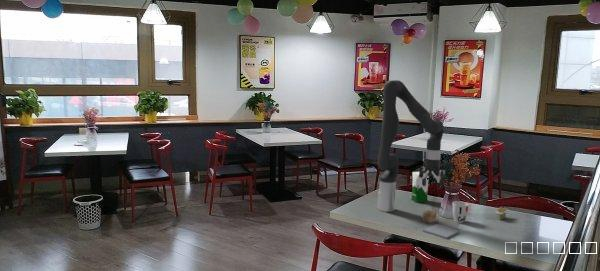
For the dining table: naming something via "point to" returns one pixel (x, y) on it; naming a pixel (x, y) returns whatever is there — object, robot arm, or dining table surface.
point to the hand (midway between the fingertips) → (431, 187)
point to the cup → (460, 211)
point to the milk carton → (419, 188)
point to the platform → (501, 212)
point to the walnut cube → (429, 216)
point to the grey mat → (441, 231)
